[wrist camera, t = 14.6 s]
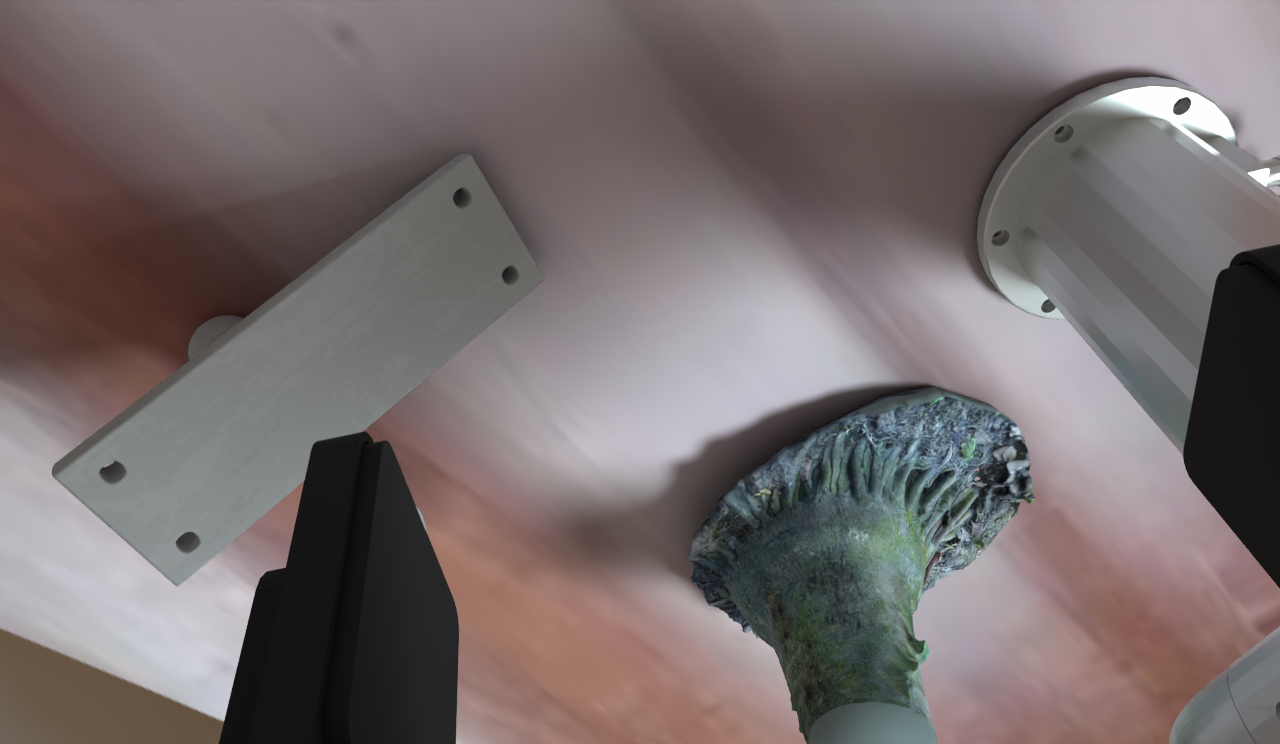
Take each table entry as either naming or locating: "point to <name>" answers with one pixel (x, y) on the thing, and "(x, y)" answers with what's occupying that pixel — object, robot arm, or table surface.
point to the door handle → (302, 372)
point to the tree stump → (861, 552)
